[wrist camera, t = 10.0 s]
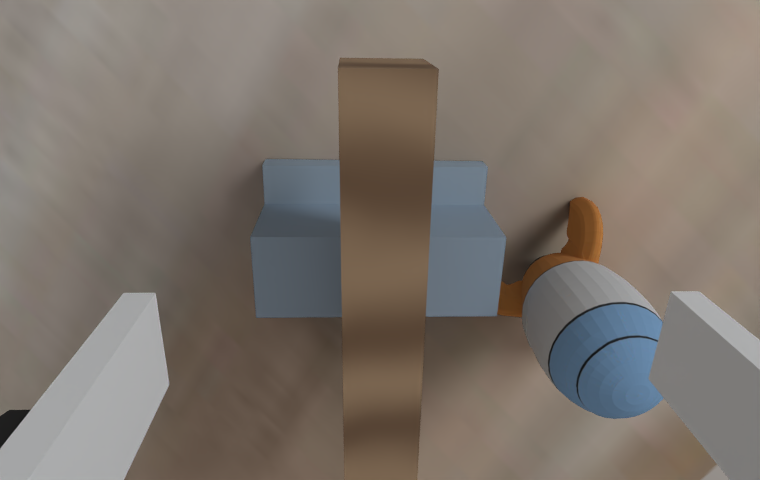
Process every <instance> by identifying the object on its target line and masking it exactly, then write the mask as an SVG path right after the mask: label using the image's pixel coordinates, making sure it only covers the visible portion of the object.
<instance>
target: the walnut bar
mask: <svg viewBox="0 0 760 480" xmlns="http://www.w3.org/2000/svg"><path fill="white" fill-rule="evenodd" d="M438 72H439V69H438V68H436V67H435V66H433V65H432V64H430V63H429V62H427V61H426V60H424V59H389V58H340V61H339V66H338V98H339V162H340V227H341V292H342V356H343V421H344V480H417V474H418V455H419V436H420V417H421V397H422V378H423V359H424V340H425V321H426V302H427V282H428V263H429V244H430V225H431V206H432V187H433V167H434V148H435V129H436V110H437V91H438Z"/></svg>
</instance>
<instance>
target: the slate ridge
mask: <svg viewBox="0 0 760 480" xmlns="http://www.w3.org/2000/svg"><path fill="white" fill-rule="evenodd" d="M262 167H263V184H264V200H265V204H264V207H263V209H262V211H261V214H260V216H259V218H258V220H257V223H256V225H255V227H254V230H253V232H252V234H251V237H250V240H251V254H252V268H253V282H254V295H255V309H256V318H289V317H342V292H341V227H340V162H339V160H300V159H266V160H265V161H264V163H263V165H262ZM487 170H488V167H487V166H486V165H485V164H484V163H483V161H434V167H433V187H432V206H431V225H430V244H429V263H428V282H427V302H426V317H447V316H497V311H498V303H499V294H500V286H501V278H502V270H503V261H504V253H505V245H506V236H505V235H504V233H503V232H502V231H501V229H500V228H499V226H498V225H497V223H496V222H495V220H494V219H493V217H492V216H491V215H490V213H489V212H488V210H487V209H486V207H485V206H484V199H485V189H486V180H487Z"/></svg>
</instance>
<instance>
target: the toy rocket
mask: <svg viewBox="0 0 760 480" xmlns="http://www.w3.org/2000/svg"><path fill="white" fill-rule="evenodd" d="M567 236H568V238H569V241H568V242H567V244H566V245H565V246H564V247H563V248H562V250H561V253H553V254H549V255H545V256H542V257H539V258H538V259H536V260H535V261H534V262H533V263H532V264H531V265H530V267H529V268H528V270H527V271H526V273H525V275H524V277H523V280H522V281H517V282H515V283H513V284H509V285H507V284H505V283H504V282H502V281H501V286H500V294H499V303H498V311H497V314H499V315H504V316H514V317H522V324H523V329H524V332H525V335H526V337H527V340H528V343H529V345H530V347H531V348H532V349H533V351H534V354H535V356H536V358H537V360H538V362H539V364H540V366H541V367H542V369H543V370H544V372H545V373H546V375H547V376H548V378H549V379H550V380H551V382H552V383H553V384H554V385H555V387H556V388H557V389H558V390H559V391H560V392H561V393H563V394H564V395H565V396H566V397H567V398H568V399H569V400H571V401H572V402H573V403H575V404H577V405H578V406H580V407H582V408H583V409H585V410H587V411H590V412H592V413H594V414H596V415H598V416H602V417H605V418H613V419H616V418H629V417H634V416H637V415H640V414H643V413H645V412H647V411H649V410H650V409H652V408H653V407H655V406H656V405H657V404H658V403H659V402H660V401H661V400H662V399H663V396H662V395H661V394H660V393H659V391H658V390H657V389H656V388H655V386H654V385H653V384H652V383H651V382H650V380H649V379H648V378H649V374H650V370H651V367H652V363H653V359H654V355H655V351H656V347H657V343H658V340H659V336H660V332H661V328H662V324H663V322H662V320H661V318H660V317H659V315H658V314H657V312H656V311H655V310H654V308H653V307H652V306H651V304H650V303H649V302H648V301H647V300H646V299H645V298H644V297H643V296H642V295H641V294H640V293H639V292H638V291H637V290H636V289H635V288H634V287H633V286H632V285H631V284H630V283H628V282H627V281H626V280H625V279H623V278H622V277H620V276H619V275H617V274H616V273H614V272H613V271H611V270H610V269H608V268H607V267H605V266H603V265H600V264H598V262H599V257H600V252H601V248H602V239H603V223H602V218H601V214H600V212H599V210H598V207H597V206H596V205H595V204H594V203H593V202H592V201H590V200H588V199H587V198H584V197H579V198H575V199H573V200H572V201H570V209H569V220H568V227H567Z"/></svg>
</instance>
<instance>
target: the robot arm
mask: <svg viewBox="0 0 760 480" xmlns="http://www.w3.org/2000/svg"><path fill="white" fill-rule="evenodd" d="M648 379H649V380H650V382H651V383H652V384H653V385H654V386H655V388H656V389H657V390H658V391H659V393H660V394H661V395H662V396H663V398H664V399H665V400H666V401H667V403H668V404H669V405H670V406H671V408H672V409H673V410H674V411H675V413H676V414H677V415H678V416H679V417H680V419H681V420H682V421H683V422H684V424H685V425H686V426H687V427H688V429H689V430H690V431H691V432H692V434H693V435H694V436H695V437H696V439H697V440H698V441H699V442H700V444H701V445H702V446H703V447H704V448H705V450H706V451H707V452H708V453H709V455H710V456H711V457H712V458H713V460H714V461H715V462H716V463H717V465H718V466H719V467H720V468H721V470H722V471H723V472H724V473H725V475H726V476H727V477H728V478H729V479H730V480H760V340H759V339H758V338H756V337H755V336H754V335H753V334H751V333H750V332H749V331H748V330H746V329H745V328H744V327H743V326H741V325H740V324H739V323H738V322H737V321H735V320H734V319H733V318H732V317H730V316H729V315H728V314H727V313H725V312H724V311H723V310H722V309H720V308H719V307H718V306H717V305H716V304H714V303H713V302H712V301H711V300H709V299H708V298H707V297H706V296H704V295H703V294H702V293H701V292H699V291H672V292H671V293H670V297H669V301H668V305H667V309H666V313H665V316H664V320H663V324H662V328H661V332H660V336H659V340H658V343H657V347H656V351H655V355H654V359H653V363H652V367H651V370H650V374H649V378H648ZM168 386H169V379H168V372H167V365H166V359H165V352H164V345H163V339H162V332H161V326H160V319H159V312H158V306H157V299H156V293H123V294H122V296H121V297H120V298H119V299H118V301H117V302H116V303H115V305H114V306H113V307H112V308H111V310H110V311H109V312H108V313H107V315H106V316H105V317H104V318H103V320H102V321H101V322H100V323H99V325H98V326H97V327H96V328H95V330H94V331H93V332H92V334H91V335H90V336H89V337H88V339H87V340H86V341H85V342H84V344H83V345H82V346H81V347H80V349H79V350H78V351H77V352H76V354H75V355H74V356H73V357H72V359H71V360H70V361H69V363H68V364H67V365H66V366H65V368H64V369H63V370H62V371H61V373H60V374H59V375H58V376H57V378H56V379H55V380H54V381H53V383H52V384H51V385H50V386H49V388H48V389H47V390H46V392H45V393H44V394H43V395H42V397H41V398H40V399H39V400H38V402H37V403H36V404H35V405H34V407H33V408H32V409H31V410H9V411H7V412H6V413H4V414H3V415H1V416H0V480H124V478H125V476H126V474H127V472H128V470H129V468H130V466H131V464H132V462H133V459H134V457H135V455H136V453H137V451H138V449H139V447H140V445H141V443H142V441H143V439H144V436H145V434H146V432H147V430H148V428H149V426H150V424H151V422H152V420H153V418H154V416H155V413H156V411H157V409H158V407H159V405H160V403H161V401H162V399H163V397H164V395H165V393H166V390H167V388H168Z"/></svg>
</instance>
